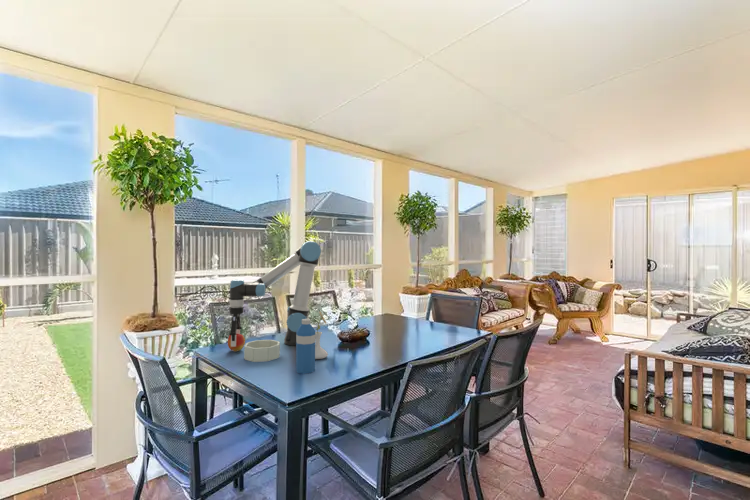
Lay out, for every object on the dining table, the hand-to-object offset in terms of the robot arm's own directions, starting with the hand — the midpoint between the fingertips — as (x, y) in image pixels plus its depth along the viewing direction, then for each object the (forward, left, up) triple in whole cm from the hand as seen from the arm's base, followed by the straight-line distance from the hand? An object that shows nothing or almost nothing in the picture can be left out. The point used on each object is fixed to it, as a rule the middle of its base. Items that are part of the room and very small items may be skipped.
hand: (235, 343), depth 218 cm
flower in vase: (-46, +20, -5) cm, 51 cm away
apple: (0, 0, -5) cm, 5 cm away
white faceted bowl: (-16, +14, -4) cm, 22 cm away
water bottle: (-39, +41, -5) cm, 57 cm away
